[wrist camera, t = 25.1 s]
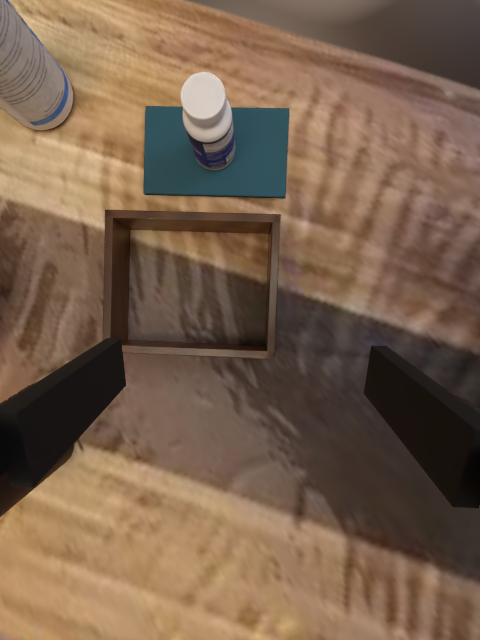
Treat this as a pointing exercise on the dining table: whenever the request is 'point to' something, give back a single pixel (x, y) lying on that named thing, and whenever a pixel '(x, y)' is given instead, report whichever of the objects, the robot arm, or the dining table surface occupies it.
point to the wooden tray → (127, 220)
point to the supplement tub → (30, 76)
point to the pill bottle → (208, 120)
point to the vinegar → (6, 496)
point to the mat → (235, 179)
